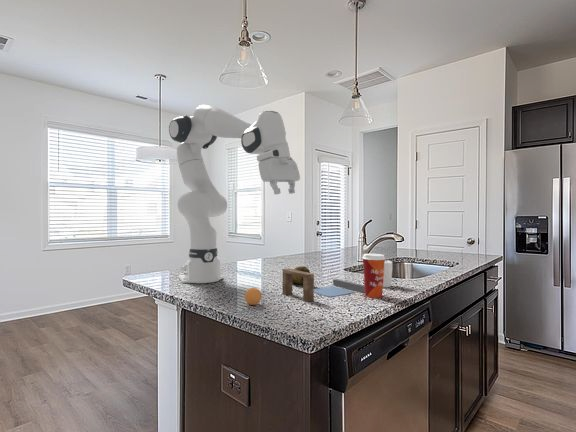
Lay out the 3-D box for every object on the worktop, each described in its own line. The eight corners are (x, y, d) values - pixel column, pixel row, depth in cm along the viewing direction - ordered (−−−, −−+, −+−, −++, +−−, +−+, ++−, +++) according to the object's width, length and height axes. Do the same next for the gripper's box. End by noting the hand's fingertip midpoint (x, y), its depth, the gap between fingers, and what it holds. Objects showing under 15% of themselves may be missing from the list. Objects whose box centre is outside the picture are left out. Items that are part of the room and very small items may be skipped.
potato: (303, 281, 152) (303, 262, 152) (312, 287, 139) (312, 267, 139) (285, 281, 150) (285, 263, 150) (292, 288, 137) (292, 268, 137)
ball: (241, 304, 112) (241, 287, 112) (256, 301, 115) (256, 285, 115) (249, 308, 107) (249, 290, 107) (264, 305, 111) (264, 288, 111)
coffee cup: (375, 299, 118) (375, 256, 118) (357, 295, 125) (357, 254, 125) (390, 296, 123) (390, 254, 123) (372, 292, 130) (372, 252, 130)
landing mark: (307, 290, 132) (307, 290, 132) (332, 286, 140) (332, 286, 140) (329, 297, 122) (329, 296, 122) (355, 292, 129) (355, 292, 129)
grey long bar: (333, 285, 142) (333, 279, 142) (336, 284, 144) (336, 278, 144) (366, 293, 128) (366, 286, 128) (369, 292, 129) (369, 286, 129)
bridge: (306, 302, 115) (307, 274, 115) (282, 293, 127) (282, 269, 127) (313, 300, 117) (313, 273, 117) (289, 292, 128) (289, 268, 128)
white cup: (385, 288, 137) (385, 263, 137) (368, 285, 143) (368, 261, 142) (396, 286, 142) (396, 261, 142) (379, 283, 148) (379, 259, 148)
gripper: (286, 159, 132) (293, 194, 132) (253, 156, 115) (261, 196, 115) (299, 155, 129) (307, 191, 128) (268, 150, 112) (276, 192, 111)
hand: (285, 193), depth 121 cm, fingers open, 8 cm apart
